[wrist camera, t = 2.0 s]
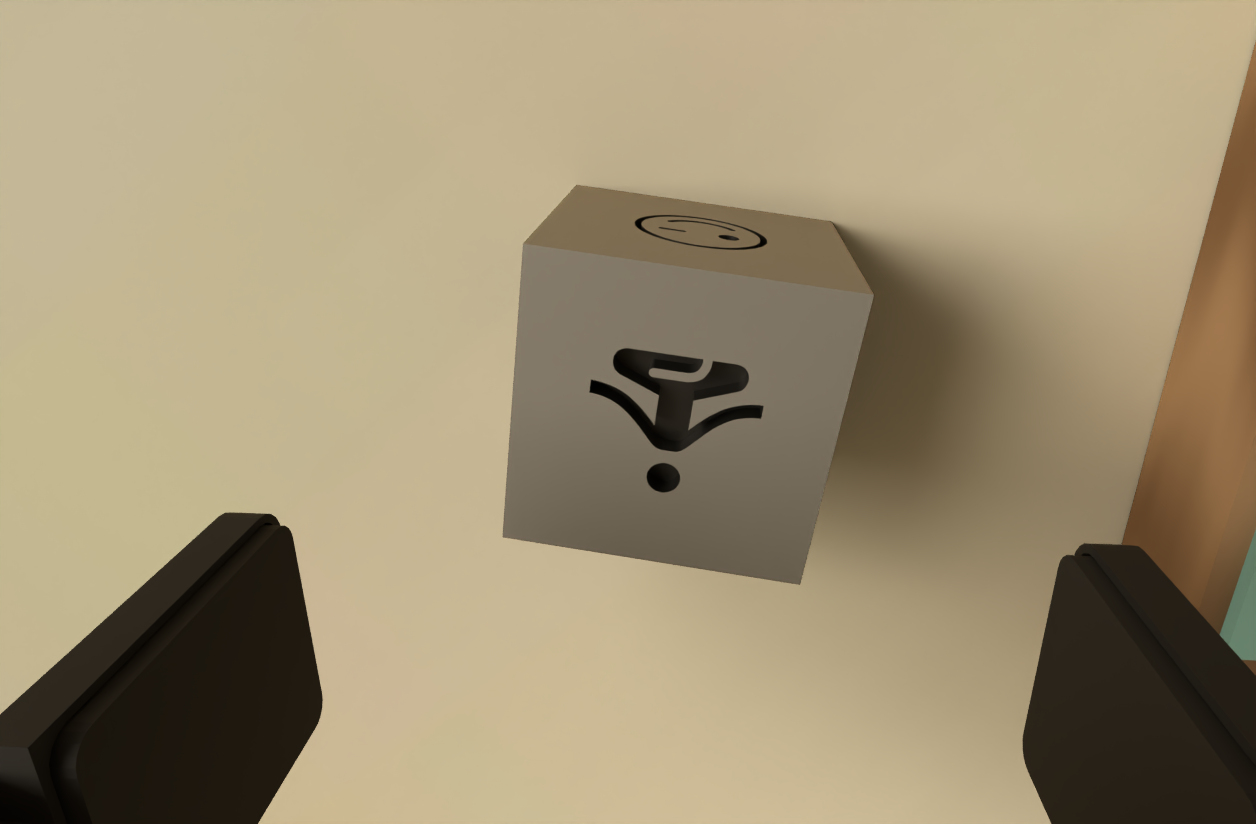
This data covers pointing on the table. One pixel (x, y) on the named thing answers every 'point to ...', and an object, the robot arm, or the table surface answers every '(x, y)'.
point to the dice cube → (680, 381)
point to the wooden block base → (1212, 415)
